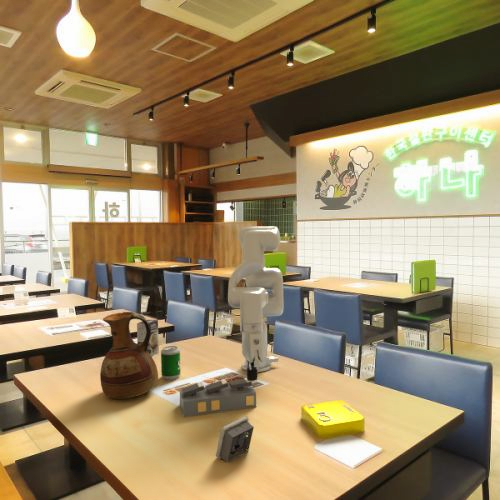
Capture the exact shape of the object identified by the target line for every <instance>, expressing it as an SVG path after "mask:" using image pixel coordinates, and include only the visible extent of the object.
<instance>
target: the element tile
mask: <svg viewBox="0 0 500 500" xmlns="http://www.w3.org/2000/svg"><path fill="white" fill-rule="evenodd" d="M300 409H301V410H300V413H301V415H300V416H301V418H300V419H301V421H302V422H303V423H304V424H305V426H307V427H308V429H309V430H311V432H312V433H313V434H314V436H315V437H317V438H319V439H322V440H328V439H333V438H338V437H339V438H340V437H344V436H345V437H346V436H350V435H356V434H361V433H364V432H365V430H366V429H365V425H366V424H365V420H366V419H365V416H363V414H361V413H360V412H359V411H357V410H356V409H355V408H354V407H352V406H351V405H350V404H348V403H347V402H345V401H344V400H342V399H336V400H335V399H334V400H330V401H323V402H316V403H308V404H303V405H302V406H301V408H300Z"/></svg>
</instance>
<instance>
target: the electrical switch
mask: <svg viewBox="0 0 500 500" xmlns="http://www.w3.org/2000/svg"><path fill="white" fill-rule="evenodd" d="M254 427H255V426H254V425H252V424H251V423H250V419H249V417H247V416H243V417H242V418H239V419H237V420H235V421H232V422H231V423H229V424H226V425H224V426H222V427H221V429H220V432H219V433H220V434H219V439H218V443H217V449H216V453H215V457H216V458H217V459H218V460H219V459H222V460H224V461H225V462H226V463H228V464H229V462H231V461H233V460H235V459H237V458H238V457H240V456H242V455H244V454H246V453H247V452H249V449H250V445H251V443H252V437H253V432H254Z"/></svg>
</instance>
